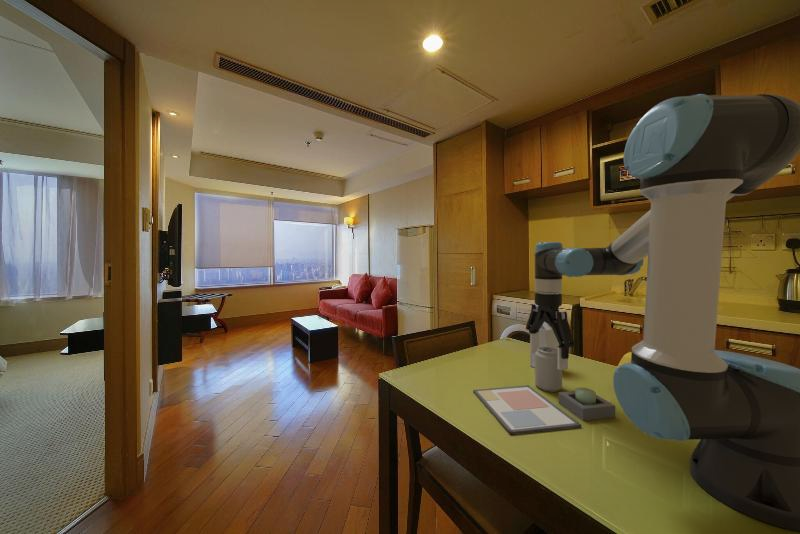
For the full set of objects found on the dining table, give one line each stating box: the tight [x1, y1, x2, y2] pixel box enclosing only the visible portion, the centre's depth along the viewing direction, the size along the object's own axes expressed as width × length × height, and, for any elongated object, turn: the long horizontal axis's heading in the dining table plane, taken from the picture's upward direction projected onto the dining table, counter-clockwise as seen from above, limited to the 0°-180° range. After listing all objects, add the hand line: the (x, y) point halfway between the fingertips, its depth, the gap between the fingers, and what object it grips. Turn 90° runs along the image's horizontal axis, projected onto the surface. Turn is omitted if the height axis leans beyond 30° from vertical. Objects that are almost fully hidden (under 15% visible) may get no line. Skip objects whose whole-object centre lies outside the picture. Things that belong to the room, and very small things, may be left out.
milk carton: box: [529, 322, 559, 369], centre depth 108 cm, size 7×7×19 cm
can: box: [534, 347, 563, 393], centre depth 92 cm, size 8×8×12 cm
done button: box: [574, 387, 597, 405], centre depth 78 cm, size 5×5×3 cm
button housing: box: [557, 390, 616, 422], centre depth 78 cm, size 9×9×3 cm
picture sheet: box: [472, 384, 582, 436], centre depth 80 cm, size 22×18×1 cm
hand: (547, 360), depth 92 cm, fingers open, 13 cm apart
